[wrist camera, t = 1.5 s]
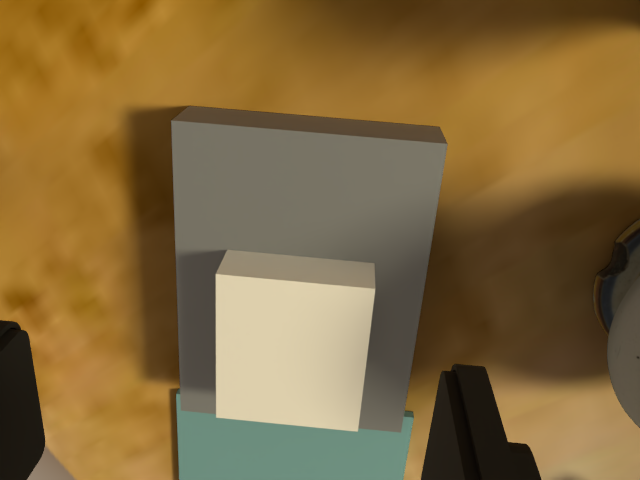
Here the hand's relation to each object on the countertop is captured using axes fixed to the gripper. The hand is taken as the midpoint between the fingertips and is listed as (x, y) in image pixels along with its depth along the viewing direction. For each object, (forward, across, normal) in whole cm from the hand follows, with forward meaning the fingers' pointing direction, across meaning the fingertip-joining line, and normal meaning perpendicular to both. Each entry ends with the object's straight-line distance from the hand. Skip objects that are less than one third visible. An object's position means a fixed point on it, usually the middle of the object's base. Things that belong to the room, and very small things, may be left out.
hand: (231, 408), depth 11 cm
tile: (+17, 0, +9) cm, 19 cm away
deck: (+20, 0, +7) cm, 21 cm away
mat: (+20, 0, +22) cm, 30 cm away
